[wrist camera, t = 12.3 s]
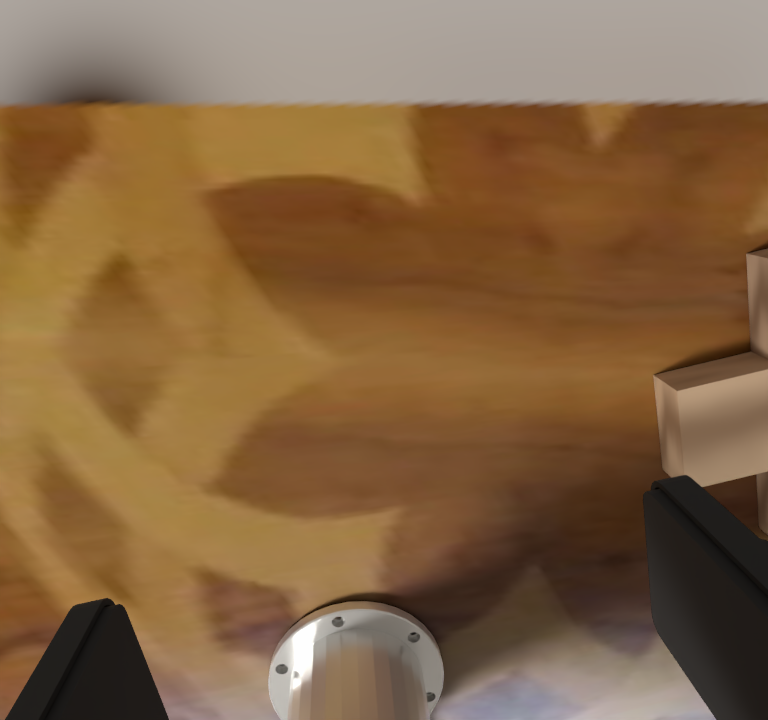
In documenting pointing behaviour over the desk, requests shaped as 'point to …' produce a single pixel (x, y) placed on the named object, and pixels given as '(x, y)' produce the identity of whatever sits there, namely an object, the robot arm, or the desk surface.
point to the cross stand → (722, 407)
